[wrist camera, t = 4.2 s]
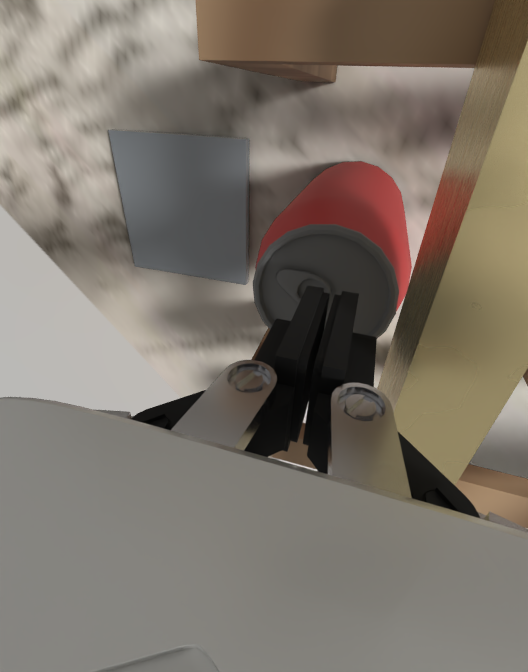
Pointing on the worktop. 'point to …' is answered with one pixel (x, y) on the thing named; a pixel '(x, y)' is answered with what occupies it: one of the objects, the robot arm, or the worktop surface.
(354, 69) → the worktop surface
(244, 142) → the coaster
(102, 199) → the worktop surface
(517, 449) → the worktop surface
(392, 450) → the robot arm
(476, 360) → the bar
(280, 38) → the frame
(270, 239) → the beer can
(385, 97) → the worktop surface
